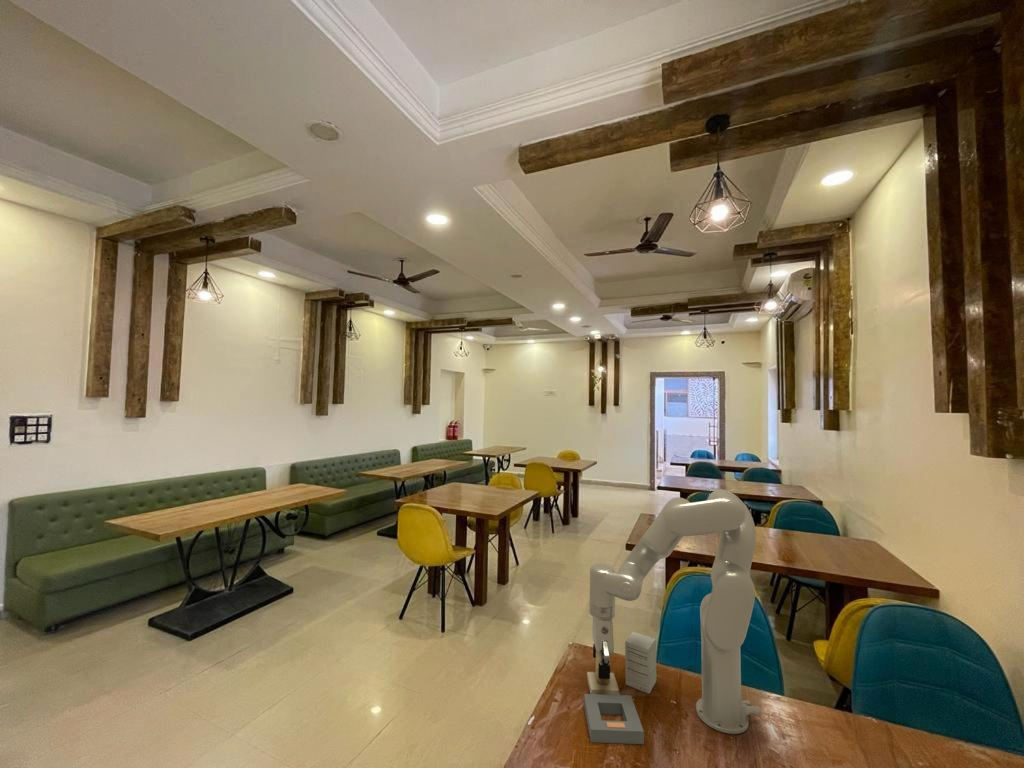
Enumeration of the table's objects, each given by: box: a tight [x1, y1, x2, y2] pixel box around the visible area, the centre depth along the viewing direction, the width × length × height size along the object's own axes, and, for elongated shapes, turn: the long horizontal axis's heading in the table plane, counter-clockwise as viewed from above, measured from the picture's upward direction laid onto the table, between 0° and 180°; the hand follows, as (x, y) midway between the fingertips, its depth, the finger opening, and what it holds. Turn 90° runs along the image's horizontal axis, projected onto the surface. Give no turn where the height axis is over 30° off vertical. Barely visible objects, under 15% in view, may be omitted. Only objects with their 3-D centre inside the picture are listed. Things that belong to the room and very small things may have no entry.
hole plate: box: [583, 693, 645, 745], centre depth 110 cm, size 13×13×3 cm
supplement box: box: [624, 631, 657, 694], centre depth 127 cm, size 7×7×13 cm
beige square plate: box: [586, 671, 620, 695], centre depth 124 cm, size 8×8×2 cm
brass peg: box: [595, 650, 611, 685], centre depth 124 cm, size 4×4×8 cm
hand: (601, 667), depth 125 cm, fingers open, 9 cm apart
